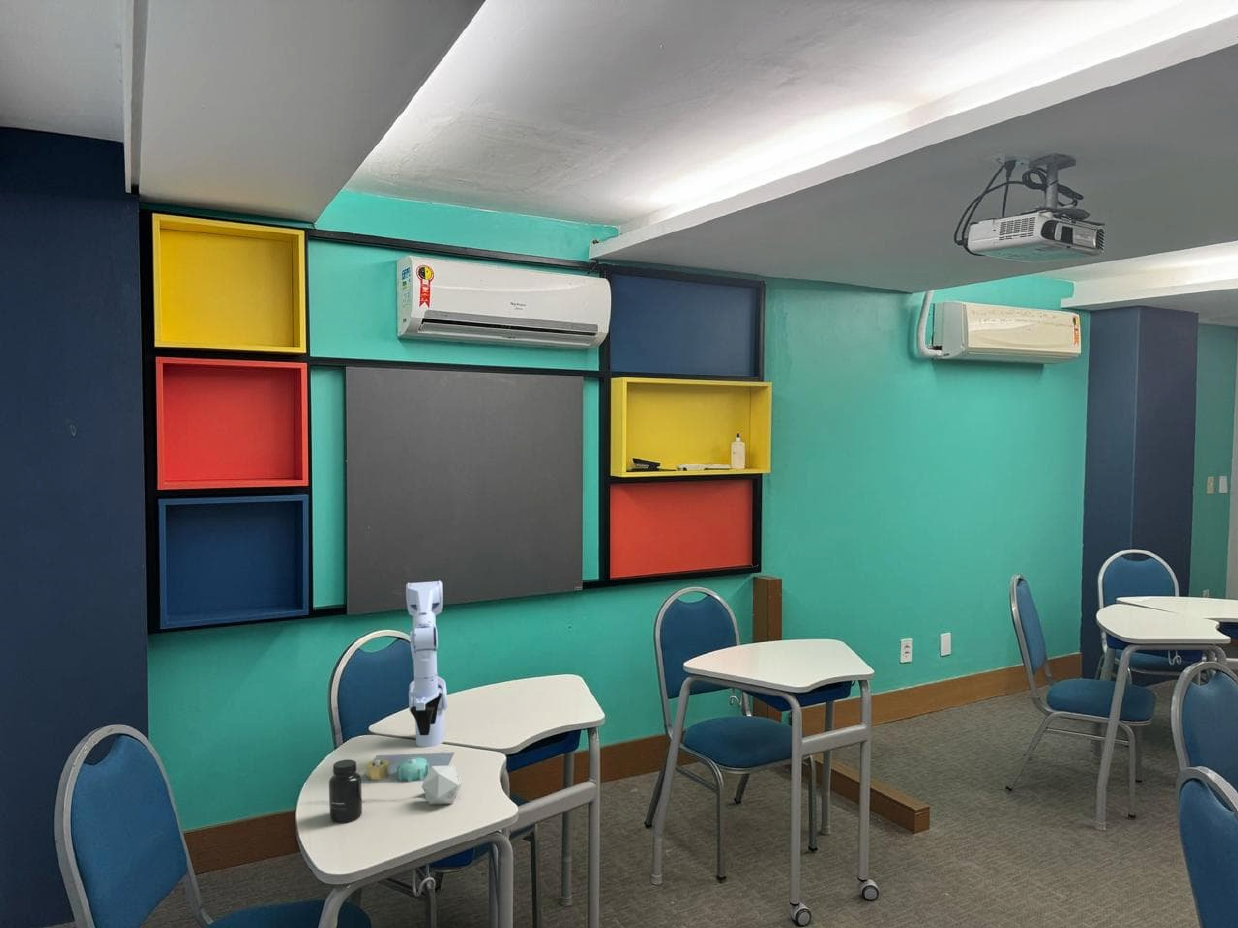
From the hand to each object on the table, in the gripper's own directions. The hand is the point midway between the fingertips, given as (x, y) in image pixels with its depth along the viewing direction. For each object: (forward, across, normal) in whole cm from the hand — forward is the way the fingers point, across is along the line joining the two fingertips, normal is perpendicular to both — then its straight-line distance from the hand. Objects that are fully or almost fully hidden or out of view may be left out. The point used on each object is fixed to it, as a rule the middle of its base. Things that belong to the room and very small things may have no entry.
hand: (427, 729), depth 208 cm
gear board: (+10, +2, -5) cm, 11 cm away
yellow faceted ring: (+9, +6, -11) cm, 16 cm away
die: (+10, +19, +7) cm, 23 cm away
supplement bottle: (+10, +25, -13) cm, 30 cm away
